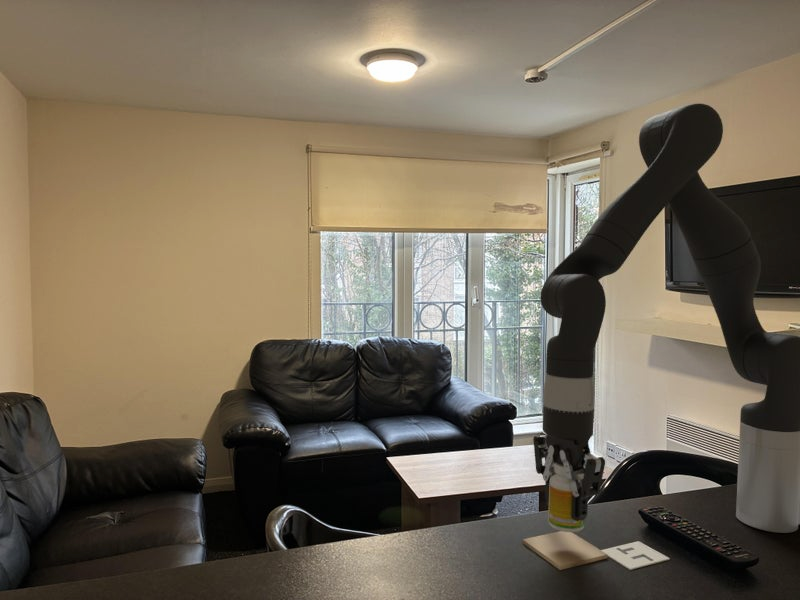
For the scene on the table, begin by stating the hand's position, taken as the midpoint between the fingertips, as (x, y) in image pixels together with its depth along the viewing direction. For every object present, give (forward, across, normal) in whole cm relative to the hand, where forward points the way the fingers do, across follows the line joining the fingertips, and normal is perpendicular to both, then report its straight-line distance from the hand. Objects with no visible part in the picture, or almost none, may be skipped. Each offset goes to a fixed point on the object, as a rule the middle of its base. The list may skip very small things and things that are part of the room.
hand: (565, 511), depth 90 cm
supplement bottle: (+2, 0, 0) cm, 2 cm away
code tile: (+6, -6, -9) cm, 12 cm away
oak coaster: (+6, 0, 0) cm, 6 cm away
